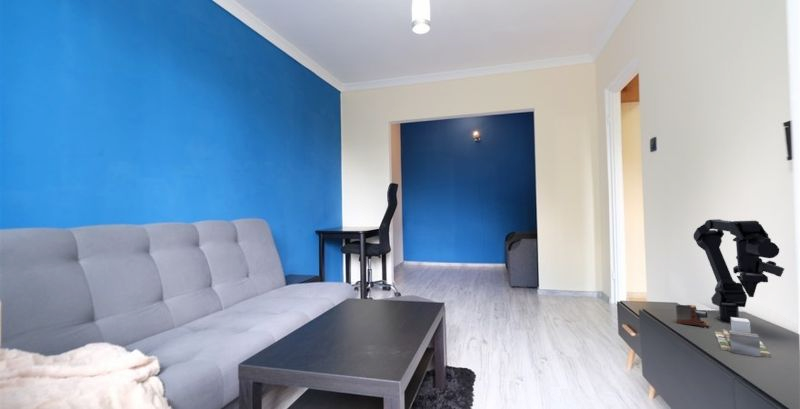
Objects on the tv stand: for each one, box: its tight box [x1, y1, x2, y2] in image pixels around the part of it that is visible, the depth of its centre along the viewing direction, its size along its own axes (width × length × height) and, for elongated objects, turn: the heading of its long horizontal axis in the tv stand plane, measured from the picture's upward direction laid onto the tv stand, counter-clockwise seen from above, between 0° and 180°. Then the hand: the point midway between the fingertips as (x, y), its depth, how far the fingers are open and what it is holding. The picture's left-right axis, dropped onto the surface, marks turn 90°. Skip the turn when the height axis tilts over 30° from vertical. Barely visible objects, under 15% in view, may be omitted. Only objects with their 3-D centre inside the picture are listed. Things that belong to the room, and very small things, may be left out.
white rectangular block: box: [718, 317, 752, 339], centre depth 111 cm, size 4×8×8 cm, turn 52°
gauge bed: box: [714, 328, 772, 358], centre depth 112 cm, size 17×11×6 cm, turn 142°
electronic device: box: [675, 304, 710, 328], centre depth 133 cm, size 4×10×8 cm, turn 44°
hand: (751, 296), depth 122 cm, fingers closed
